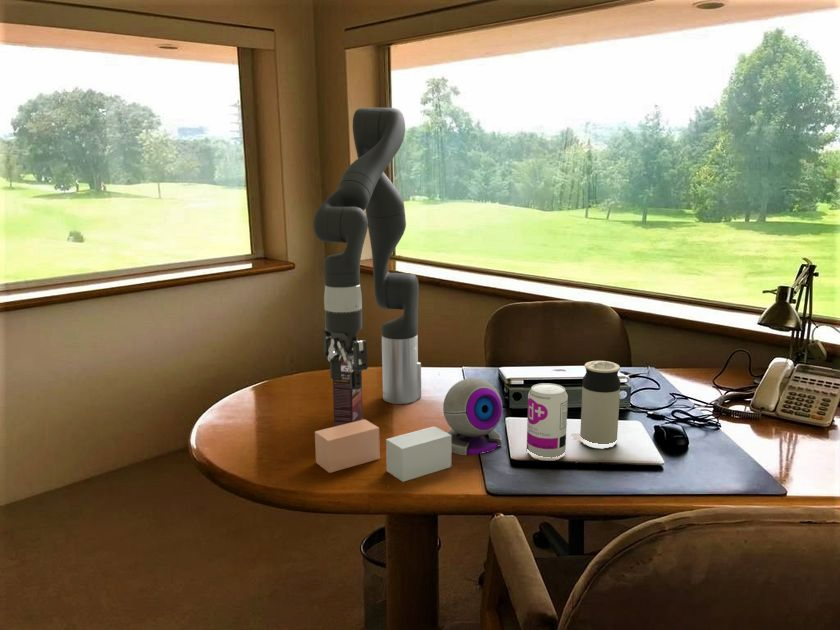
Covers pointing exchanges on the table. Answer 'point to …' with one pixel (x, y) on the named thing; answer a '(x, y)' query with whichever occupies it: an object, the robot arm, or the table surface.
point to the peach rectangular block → (347, 445)
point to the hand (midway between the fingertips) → (345, 383)
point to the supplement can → (547, 420)
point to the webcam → (473, 416)
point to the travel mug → (600, 402)
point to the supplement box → (346, 399)
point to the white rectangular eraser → (418, 453)
